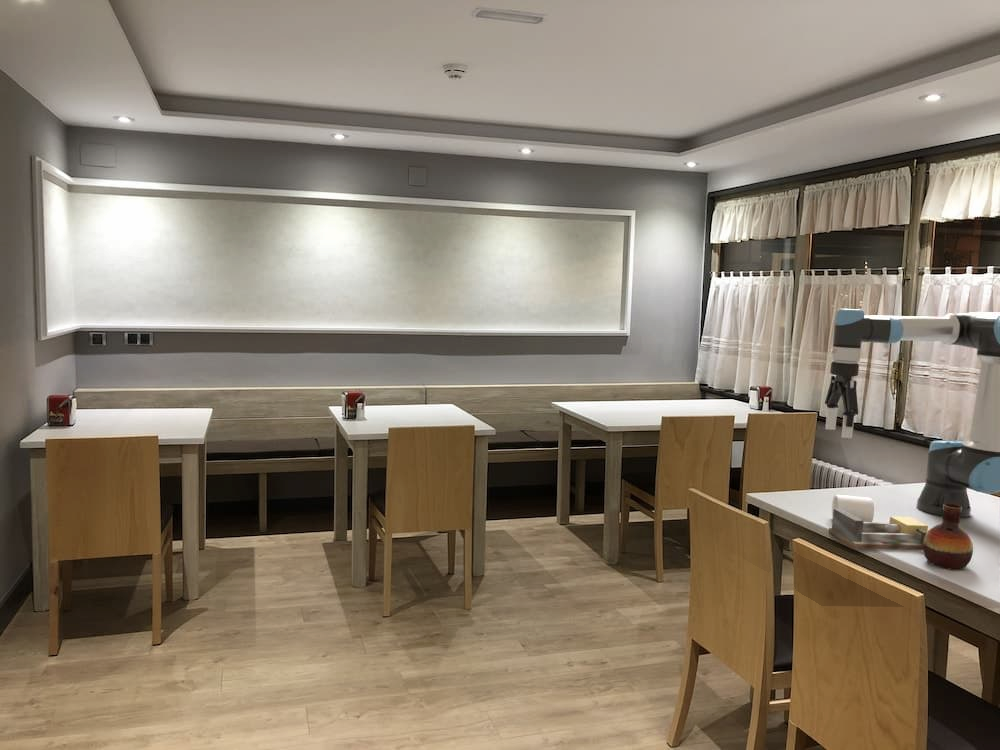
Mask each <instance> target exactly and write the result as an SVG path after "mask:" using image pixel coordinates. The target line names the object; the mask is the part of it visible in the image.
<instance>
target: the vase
mask: <svg viewBox="0 0 1000 750" xmlns="http://www.w3.org/2000/svg"><path fill="white" fill-rule="evenodd" d="M961 510H962V507H961V506H959V505H955V504H943V516H942V521H941V523H939V524H937V525H934V526H932V527H931V528H929V529H928V531H927V533H926V535H925V537H924V540H923V550H922V551H923V554H924V556H925V559H926V560H927V561H928V562H929V564H931V565H933V566H935V567H938V568H942V569H947V570H953V571H954V570H957V571H958V570H963V569H964V568H965V567H967V566H968V565H969V563H970V562H971V560H972V557H973V553H974V544H973V540H972V539H971V537H970V535H969V534H968V533H967V532H966V531H965V530H964V529H963V528H962V527H960V520H961V517H960V515H961Z"/></svg>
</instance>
